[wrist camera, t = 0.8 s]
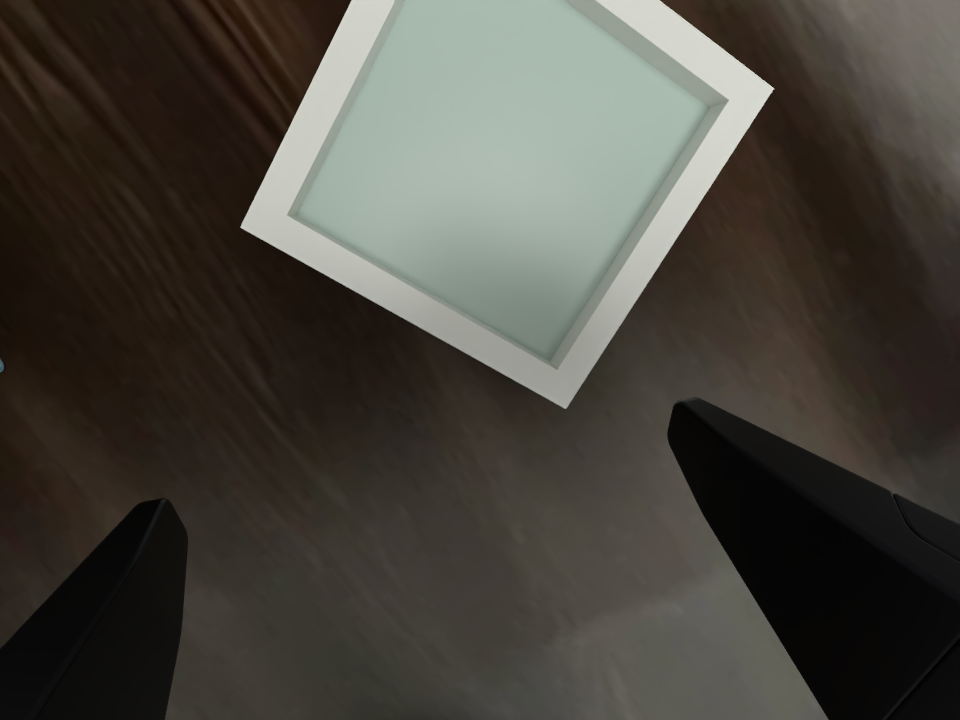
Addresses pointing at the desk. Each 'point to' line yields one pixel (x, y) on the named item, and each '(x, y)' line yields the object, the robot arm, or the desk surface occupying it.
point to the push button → (1, 366)
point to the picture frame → (506, 168)
